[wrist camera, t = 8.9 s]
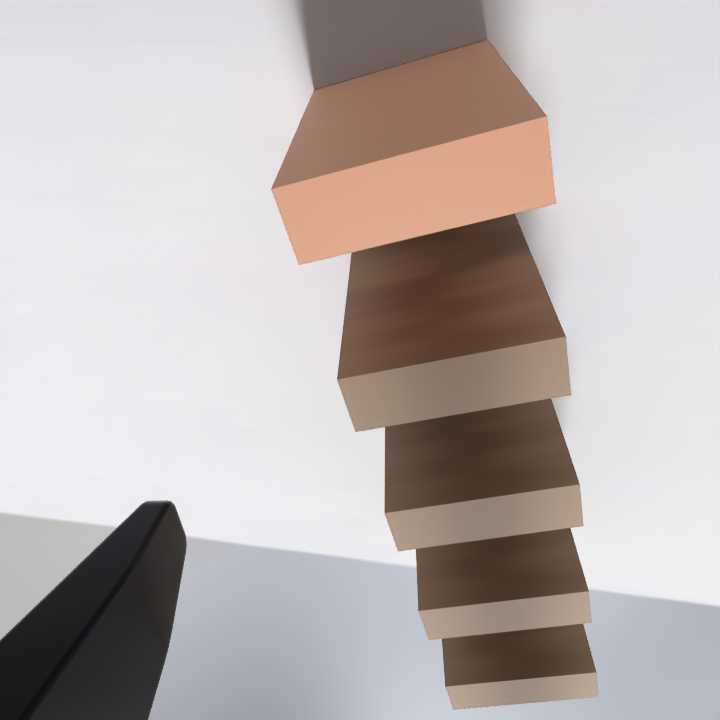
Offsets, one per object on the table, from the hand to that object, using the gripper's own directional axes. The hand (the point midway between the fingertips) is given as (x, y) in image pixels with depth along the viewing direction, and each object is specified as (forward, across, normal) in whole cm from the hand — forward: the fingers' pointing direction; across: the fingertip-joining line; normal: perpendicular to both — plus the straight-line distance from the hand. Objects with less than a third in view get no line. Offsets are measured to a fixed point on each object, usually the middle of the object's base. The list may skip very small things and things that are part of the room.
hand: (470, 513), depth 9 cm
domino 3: (+13, -1, +6) cm, 14 cm away
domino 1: (+13, +1, -3) cm, 13 cm away
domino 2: (+13, 0, +1) cm, 13 cm away
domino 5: (+13, -2, +15) cm, 20 cm away
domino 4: (+13, -2, +10) cm, 17 cm away
